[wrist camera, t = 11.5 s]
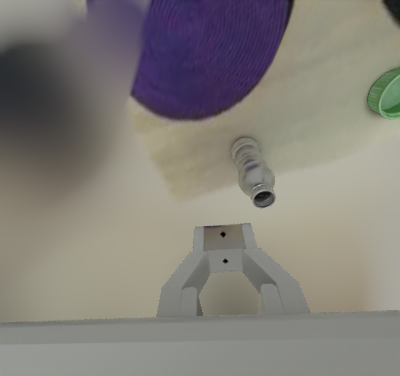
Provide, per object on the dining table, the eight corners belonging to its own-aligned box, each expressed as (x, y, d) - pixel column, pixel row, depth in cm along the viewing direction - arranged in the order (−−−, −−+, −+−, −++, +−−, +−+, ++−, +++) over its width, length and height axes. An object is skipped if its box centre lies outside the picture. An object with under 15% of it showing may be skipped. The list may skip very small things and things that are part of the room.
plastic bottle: (233, 163, 50) (247, 219, 33) (227, 139, 46) (239, 188, 30) (259, 156, 48) (286, 210, 32) (254, 130, 45) (283, 177, 28)
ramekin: (422, 88, 39) (444, 92, 36) (375, 122, 43) (390, 129, 40) (405, 52, 36) (427, 53, 32) (355, 93, 40) (370, 97, 37)
